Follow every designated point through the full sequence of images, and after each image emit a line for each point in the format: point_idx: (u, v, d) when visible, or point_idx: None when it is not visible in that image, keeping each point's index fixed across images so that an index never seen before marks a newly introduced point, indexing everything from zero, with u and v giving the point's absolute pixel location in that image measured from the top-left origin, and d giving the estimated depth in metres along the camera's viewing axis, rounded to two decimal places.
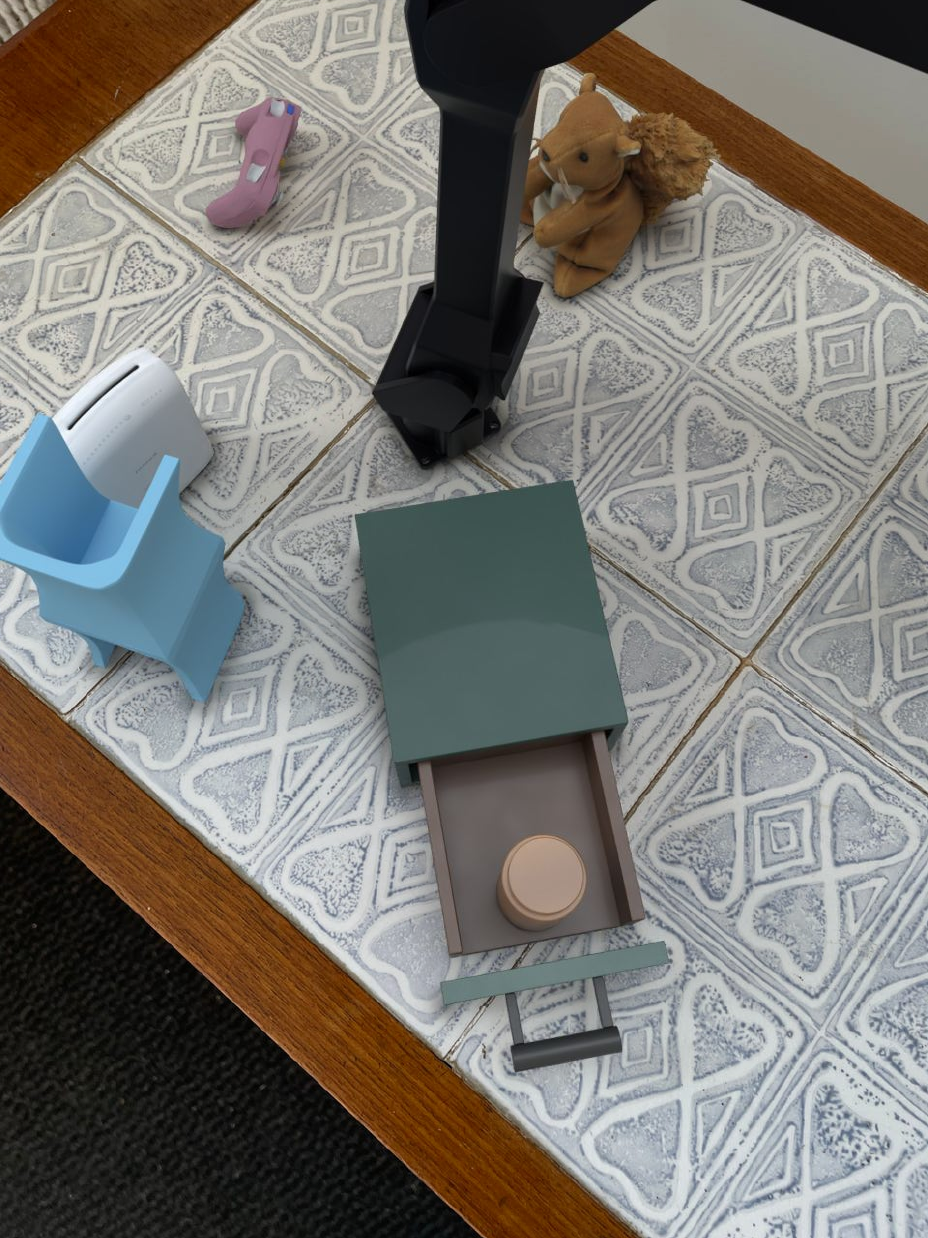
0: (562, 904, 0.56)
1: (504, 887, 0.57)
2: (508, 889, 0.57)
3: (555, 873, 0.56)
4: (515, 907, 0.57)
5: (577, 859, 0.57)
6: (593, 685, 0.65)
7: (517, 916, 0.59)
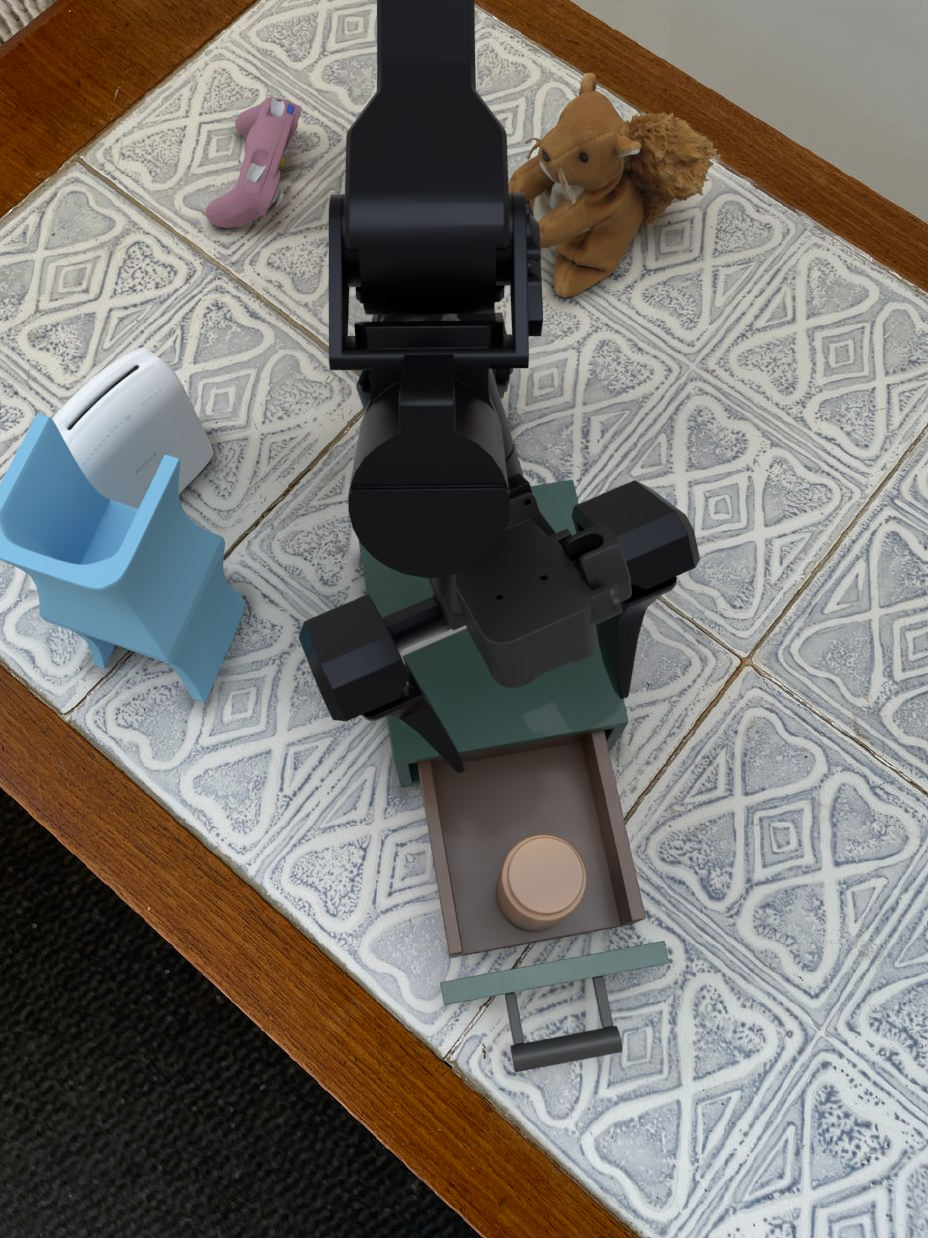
0: (562, 904, 0.56)
1: (504, 887, 0.57)
2: (508, 889, 0.57)
3: (555, 873, 0.56)
4: (515, 907, 0.57)
5: (577, 859, 0.57)
6: (593, 685, 0.65)
7: (517, 916, 0.59)
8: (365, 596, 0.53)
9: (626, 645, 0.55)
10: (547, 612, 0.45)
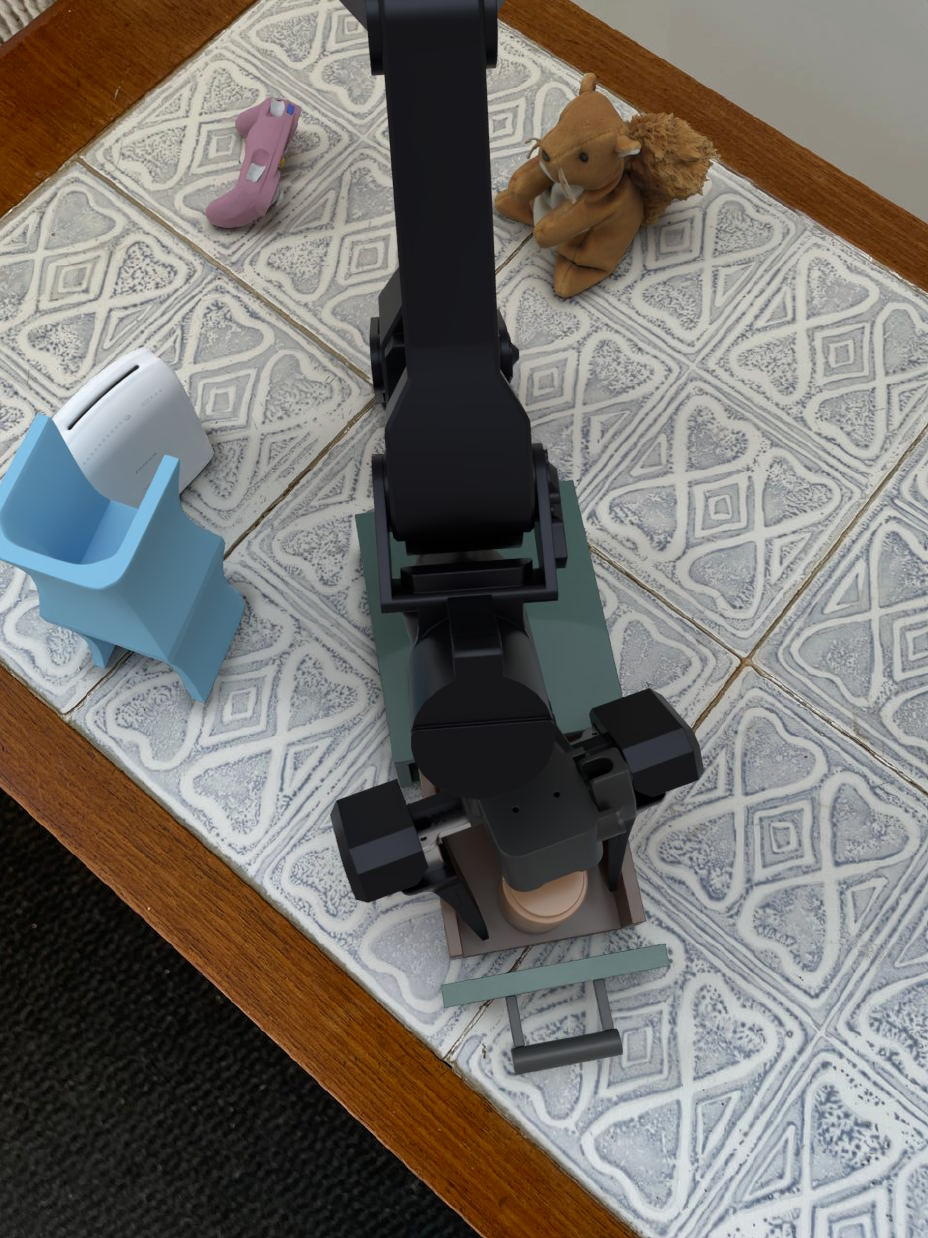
0: (563, 907, 0.56)
1: (505, 890, 0.57)
2: (509, 892, 0.57)
3: None
4: (516, 910, 0.57)
5: None
6: (593, 685, 0.65)
7: (518, 919, 0.59)
8: (394, 781, 0.58)
9: (616, 846, 0.59)
10: (557, 830, 0.49)
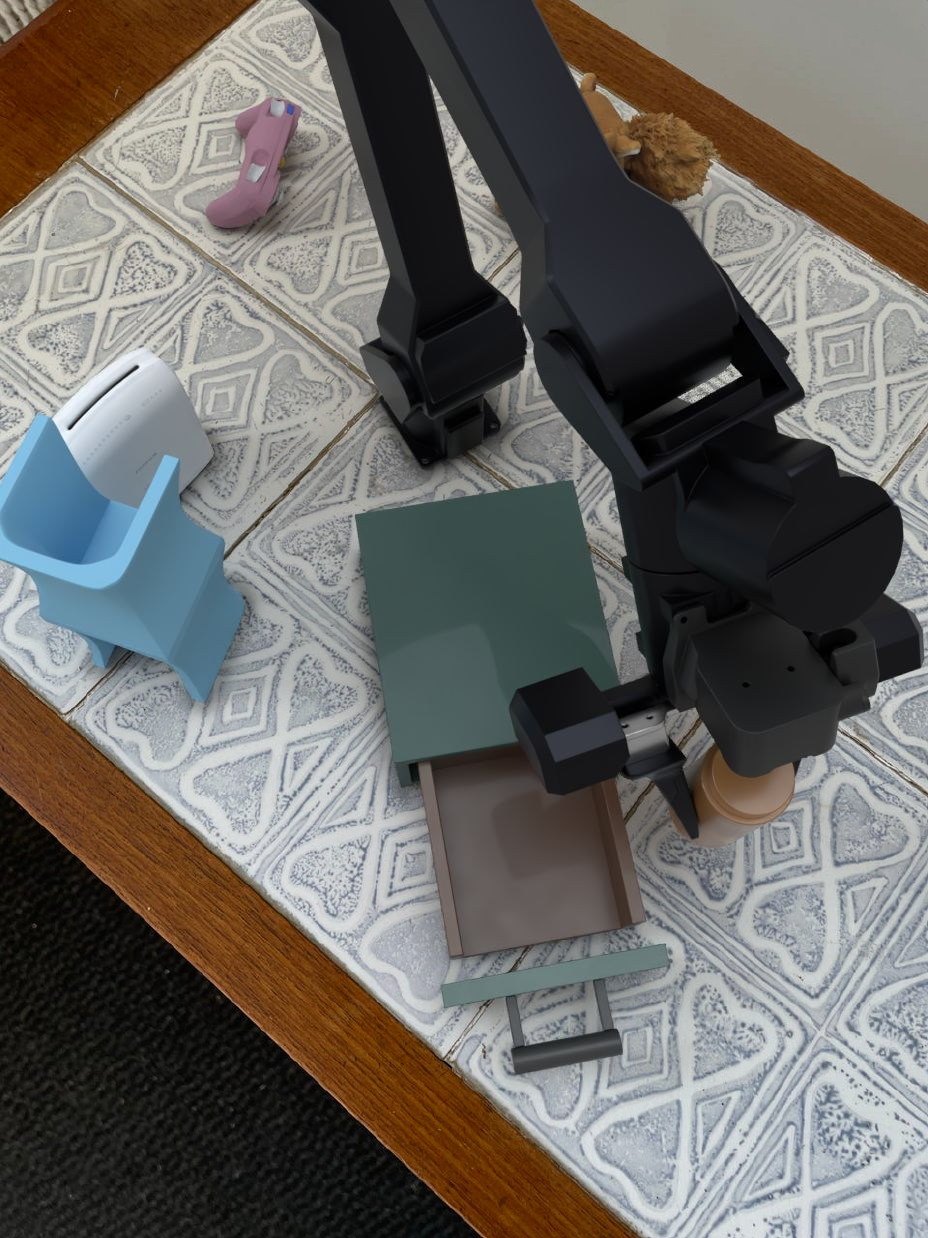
0: (773, 805, 0.51)
1: (704, 788, 0.52)
2: (709, 790, 0.52)
3: None
4: (717, 809, 0.52)
5: None
6: None
7: (710, 824, 0.54)
8: (579, 669, 0.53)
9: None
10: (798, 704, 0.44)
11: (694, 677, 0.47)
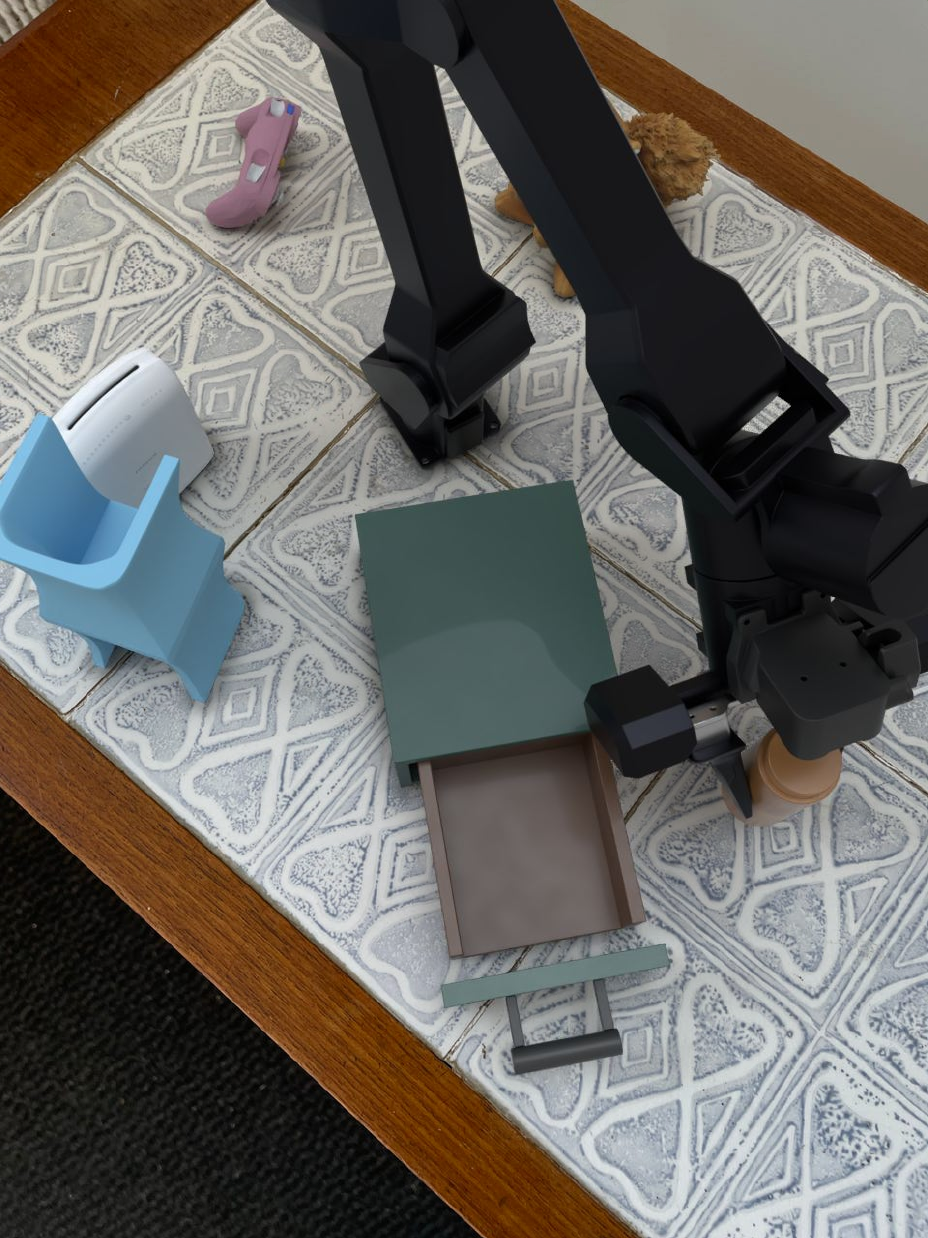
0: (823, 786, 0.57)
1: (761, 771, 0.58)
2: (765, 773, 0.58)
3: None
4: (773, 790, 0.58)
5: None
6: None
7: (764, 804, 0.60)
8: (647, 666, 0.59)
9: None
10: (851, 696, 0.51)
11: (756, 672, 0.53)
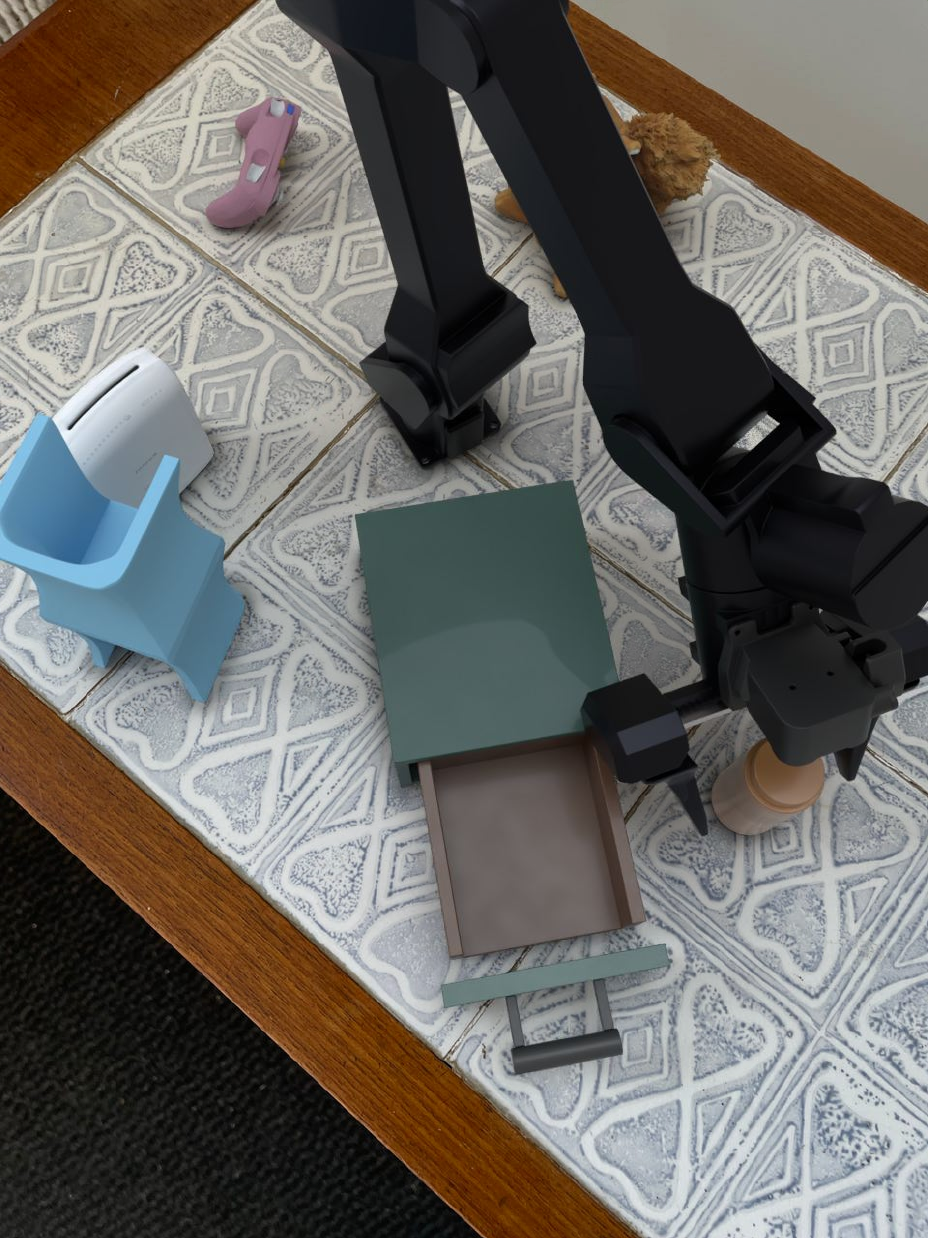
0: (806, 796, 0.60)
1: (747, 782, 0.61)
2: (751, 784, 0.61)
3: (798, 767, 0.60)
4: (759, 800, 0.61)
5: None
6: (593, 685, 0.65)
7: (751, 813, 0.63)
8: (641, 675, 0.61)
9: None
10: (837, 704, 0.52)
11: (747, 681, 0.55)
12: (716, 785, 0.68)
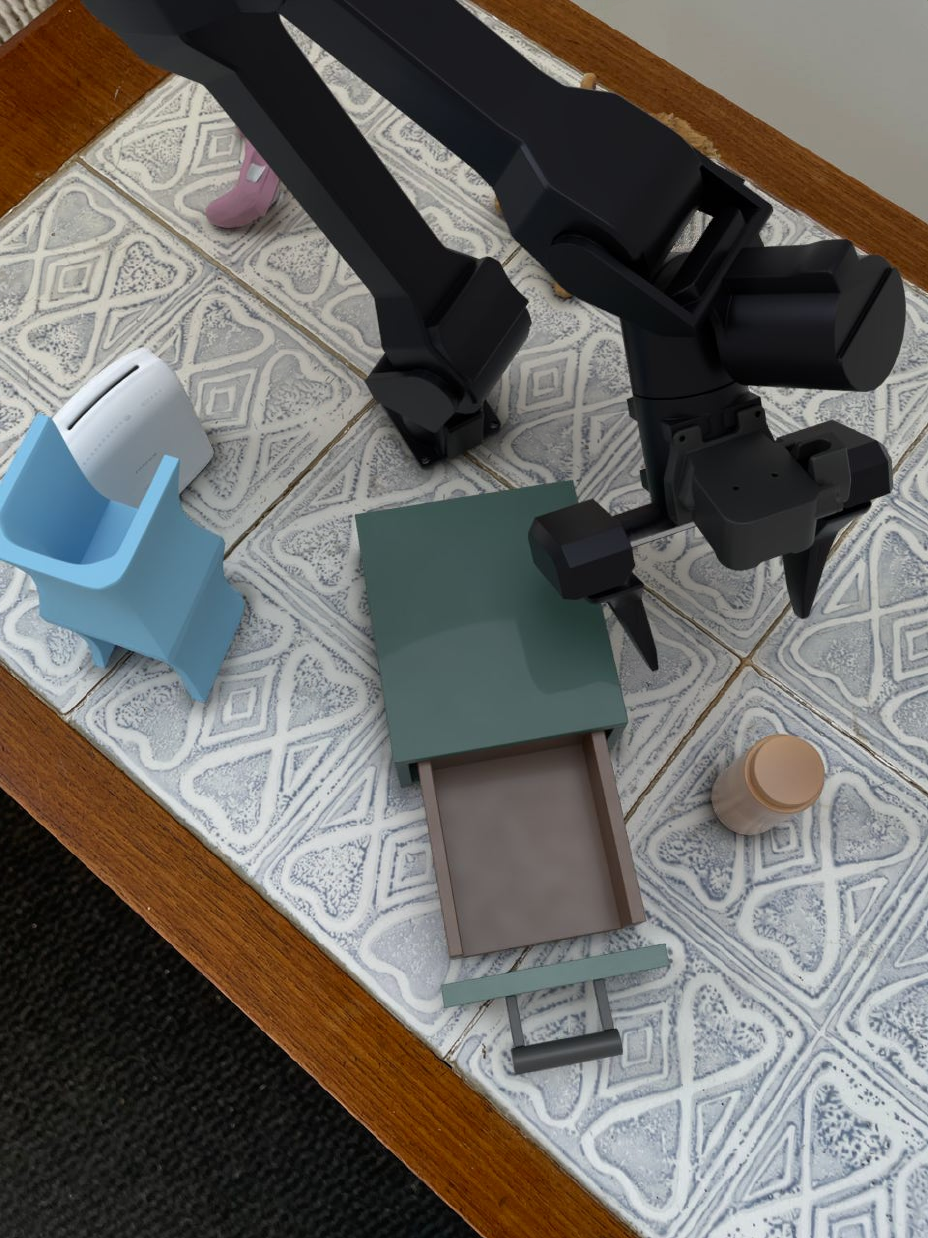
0: (806, 796, 0.60)
1: (747, 782, 0.61)
2: (751, 784, 0.61)
3: (798, 767, 0.60)
4: (759, 800, 0.61)
5: (818, 755, 0.60)
6: (593, 685, 0.65)
7: (751, 813, 0.63)
8: (590, 500, 0.60)
9: (815, 565, 0.61)
10: (780, 501, 0.51)
11: (691, 488, 0.54)
12: (716, 785, 0.68)
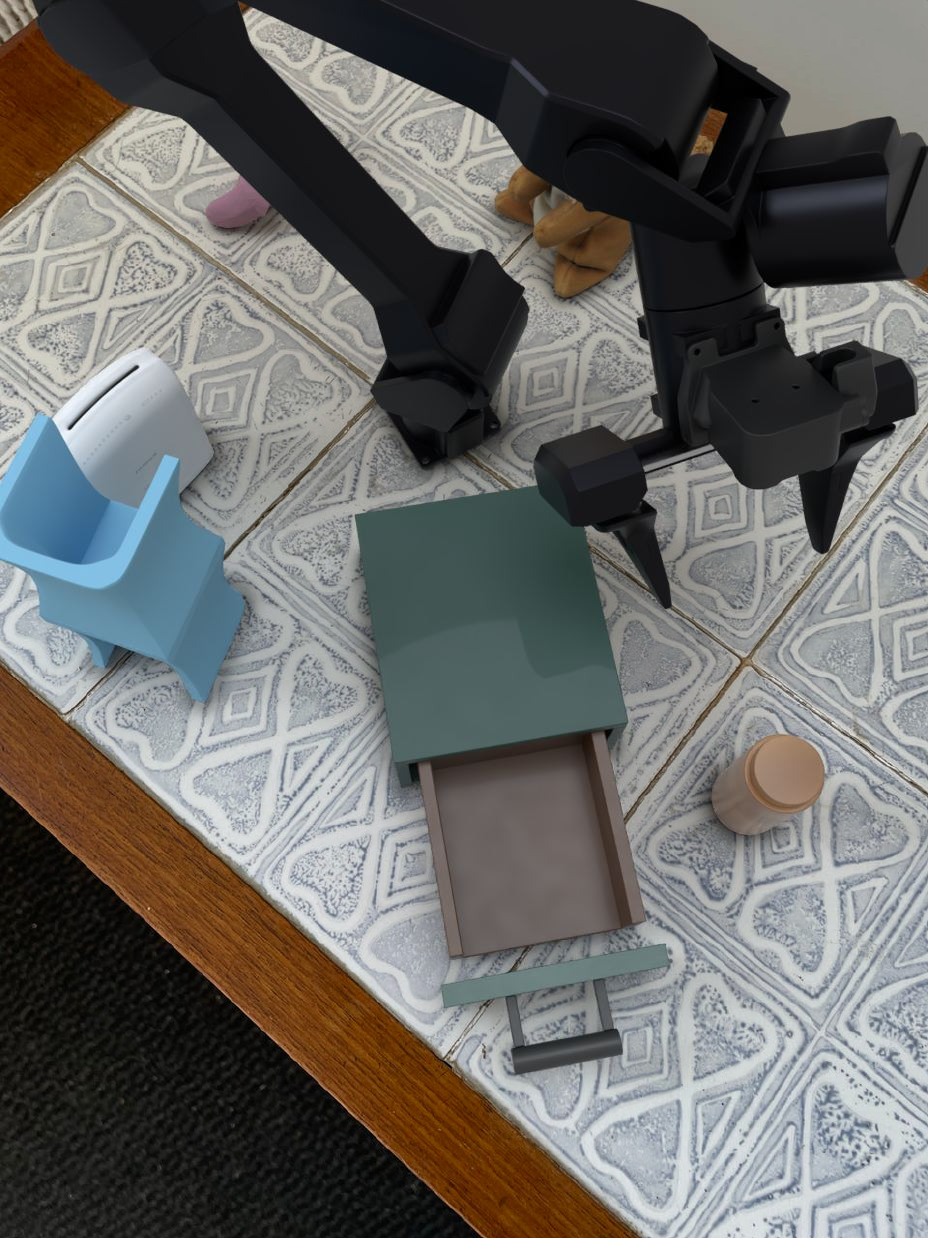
0: (806, 796, 0.60)
1: (747, 782, 0.61)
2: (751, 784, 0.61)
3: (798, 767, 0.60)
4: (759, 800, 0.61)
5: (818, 755, 0.60)
6: (593, 685, 0.65)
7: (751, 813, 0.63)
8: (598, 426, 0.57)
9: (836, 495, 0.58)
10: (803, 412, 0.48)
11: (707, 404, 0.51)
12: (716, 785, 0.68)
